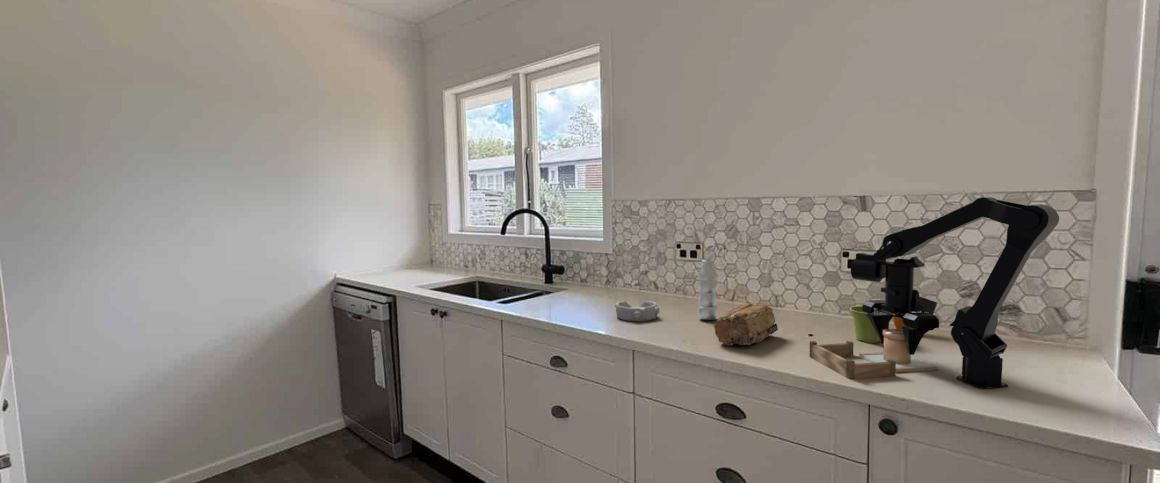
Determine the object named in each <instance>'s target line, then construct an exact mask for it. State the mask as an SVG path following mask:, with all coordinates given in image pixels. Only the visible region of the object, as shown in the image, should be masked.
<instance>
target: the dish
mask: <svg viewBox="0 0 1160 483" xmlns="http://www.w3.org/2000/svg"><path fill="white" fill-rule="evenodd" d="M614 306H615V307H614V308H615V311H616V312H615V314H616V317H617V318H618V319H620V320H623V321H631V322H646V321H652V320H655V319H657V318H658V314H660V311H661V310H660V308H659V307H658V305H657V302H656V301H655V302H654V301H650V300H644V301H643V302H642V304H641V305H638V306H631V305H630V304H629V303H628V302H627V301H626V300H621V301H618V302H616V303H615V305H614Z"/></svg>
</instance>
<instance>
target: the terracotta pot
mask: <svg viewBox="0 0 1160 483" xmlns="http://www.w3.org/2000/svg"><path fill="white" fill-rule="evenodd" d="M883 336H884V344H883V352H884V354H883V359H884V360H885V361H887V360H894V361H896V364H909V363H911V357H912V355H910V354H909V353H908V350H907V346H906V342H905V338H904V333H903V330H902V329H896V328H889V329H884V330H883Z"/></svg>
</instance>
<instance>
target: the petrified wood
mask: <svg viewBox="0 0 1160 483" xmlns="http://www.w3.org/2000/svg"><path fill="white" fill-rule="evenodd" d="M713 327H714V333H715V336H716V337H717V340H718V342H719V343H722V345H725V346H730V347H732V346H733V345H736V344H737V346H740V345H741V346H751V345H753V344H759V343H761V342H762V341H763V340H764V339H766V338H767V337H769V336H771V335H772V334H774V333H776V332H777V331H778V329H779V327H778V324H777V323H776V318H775V313H774V312H773V309H772V308H771V307H770V306H769V305H768V304H766V303H763V302H761V303H755V304H754V303H751V302H747V303H745V304H744V303H743V304H740V305H738V306H736V307H734V308H733V309H731V310H729V311H728V312H726V313H724V314H723V315H721V316H720V317H718V318H717V320H716V322H715V323H714V325H713Z"/></svg>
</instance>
